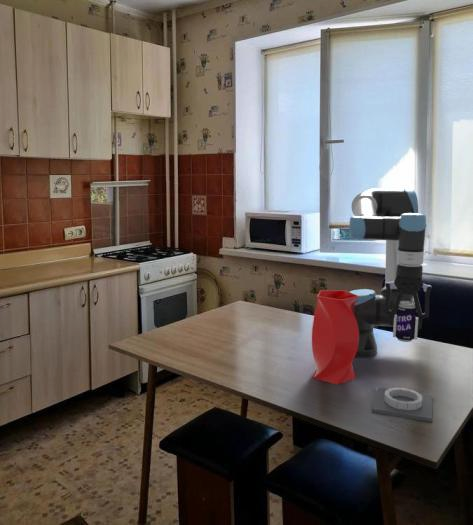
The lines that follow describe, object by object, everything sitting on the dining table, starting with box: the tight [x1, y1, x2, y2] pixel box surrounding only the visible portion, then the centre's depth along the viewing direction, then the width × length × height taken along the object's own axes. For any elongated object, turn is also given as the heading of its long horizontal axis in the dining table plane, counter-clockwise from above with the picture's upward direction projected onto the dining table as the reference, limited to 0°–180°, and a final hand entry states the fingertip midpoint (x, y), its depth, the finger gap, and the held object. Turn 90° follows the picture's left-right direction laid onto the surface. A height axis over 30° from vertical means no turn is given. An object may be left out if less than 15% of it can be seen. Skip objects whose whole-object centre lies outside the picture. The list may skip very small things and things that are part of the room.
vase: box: [311, 289, 359, 385], centre depth 168 cm, size 15×14×28 cm
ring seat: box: [371, 386, 433, 423], centre depth 149 cm, size 16×16×3 cm
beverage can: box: [395, 301, 417, 343], centre depth 157 cm, size 6×6×12 cm
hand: (404, 337), depth 158 cm, fingers closed on beverage can, 6 cm apart
